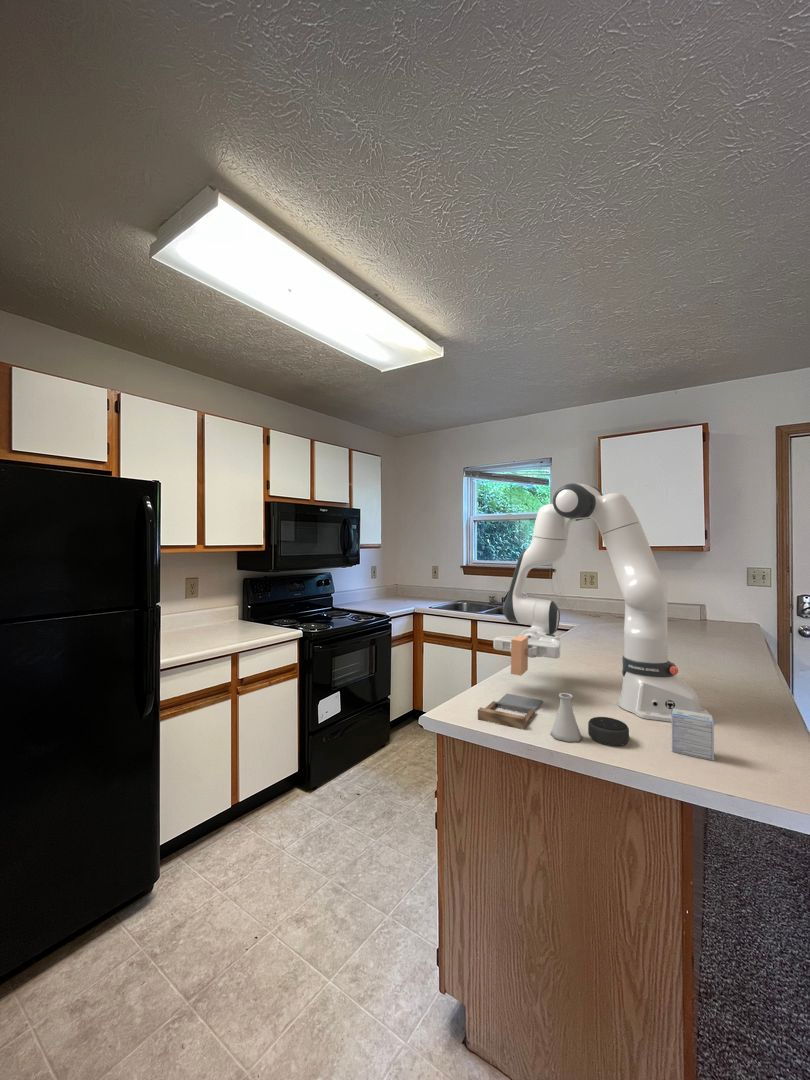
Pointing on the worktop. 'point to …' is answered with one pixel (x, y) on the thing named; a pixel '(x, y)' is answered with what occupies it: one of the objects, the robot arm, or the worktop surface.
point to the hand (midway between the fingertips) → (519, 651)
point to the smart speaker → (608, 731)
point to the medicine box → (693, 734)
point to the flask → (566, 721)
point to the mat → (521, 701)
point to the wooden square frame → (506, 715)
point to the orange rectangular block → (519, 655)
